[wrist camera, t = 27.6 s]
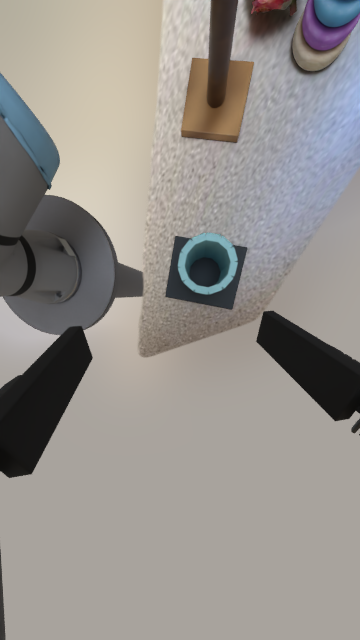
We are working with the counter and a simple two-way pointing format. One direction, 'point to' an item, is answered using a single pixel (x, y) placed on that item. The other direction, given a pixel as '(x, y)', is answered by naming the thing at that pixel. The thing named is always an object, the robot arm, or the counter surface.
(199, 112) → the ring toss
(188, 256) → the planter pot
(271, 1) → the flower
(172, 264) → the mat
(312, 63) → the stacking toy
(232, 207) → the counter surface
